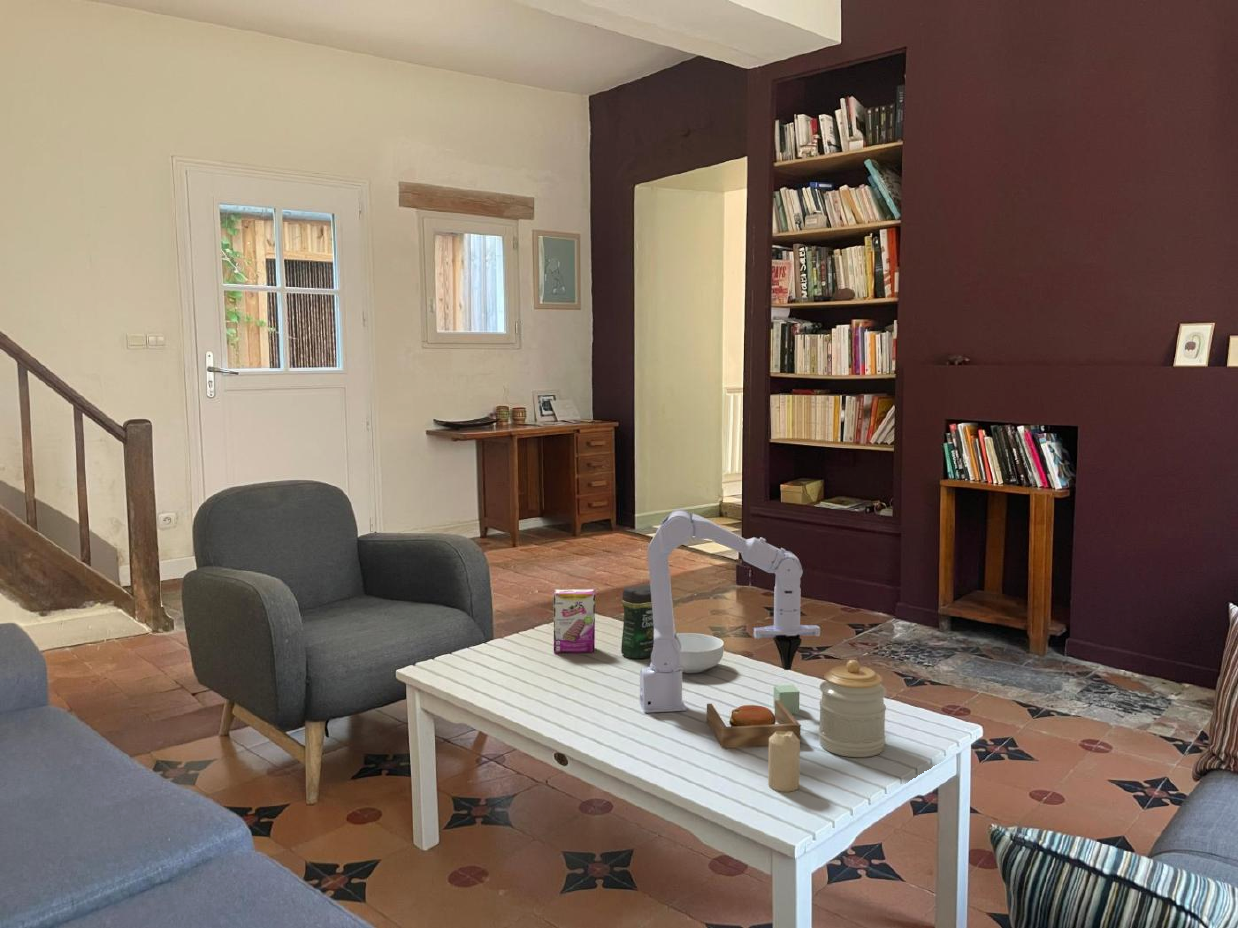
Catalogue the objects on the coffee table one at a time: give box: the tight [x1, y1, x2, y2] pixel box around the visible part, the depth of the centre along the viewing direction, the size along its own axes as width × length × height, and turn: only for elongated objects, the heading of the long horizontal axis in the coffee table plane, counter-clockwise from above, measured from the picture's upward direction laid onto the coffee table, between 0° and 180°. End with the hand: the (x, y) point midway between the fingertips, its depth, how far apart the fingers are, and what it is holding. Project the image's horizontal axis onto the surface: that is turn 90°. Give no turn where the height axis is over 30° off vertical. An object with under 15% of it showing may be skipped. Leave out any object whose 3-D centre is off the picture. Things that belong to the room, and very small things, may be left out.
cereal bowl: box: [676, 632, 725, 674], centre depth 239 cm, size 17×17×7 cm
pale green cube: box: [773, 684, 800, 715], centre depth 209 cm, size 4×4×5 cm
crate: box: [706, 700, 802, 749], centre depth 196 cm, size 16×14×4 cm
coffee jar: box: [620, 584, 654, 659], centre depth 250 cm, size 10×8×19 cm
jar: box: [818, 659, 887, 758], centre depth 189 cm, size 13×13×18 cm
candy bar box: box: [553, 588, 596, 654], centre depth 254 cm, size 11×5×16 cm, turn 94°
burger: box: [728, 704, 777, 727], centre depth 198 cm, size 10×9×5 cm
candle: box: [767, 731, 801, 793], centre depth 171 cm, size 6×6×10 cm
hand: (786, 668), depth 208 cm, fingers closed
